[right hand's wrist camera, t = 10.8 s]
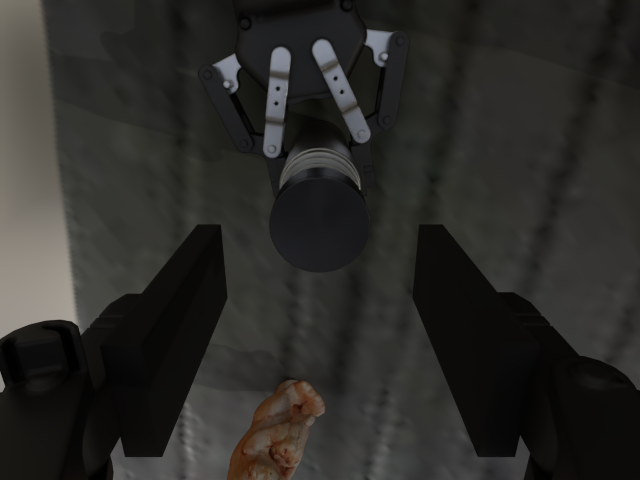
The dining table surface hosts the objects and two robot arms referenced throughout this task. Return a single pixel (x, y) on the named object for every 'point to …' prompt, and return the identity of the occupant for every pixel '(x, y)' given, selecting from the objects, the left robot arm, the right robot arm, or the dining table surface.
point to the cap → (320, 220)
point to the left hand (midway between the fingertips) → (326, 197)
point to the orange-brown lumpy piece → (277, 434)
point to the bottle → (320, 152)
